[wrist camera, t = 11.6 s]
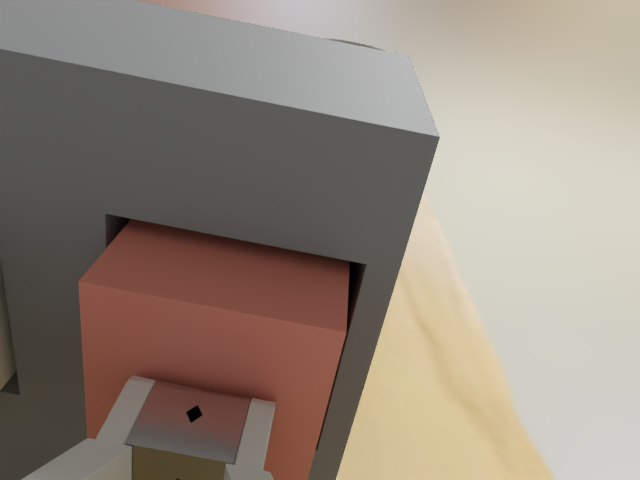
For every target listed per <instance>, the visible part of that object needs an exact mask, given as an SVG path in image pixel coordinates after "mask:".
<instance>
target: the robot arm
mask: <svg viewBox="0 0 640 480" xmlns="http://www.w3.org/2000/svg"><path fill="white" fill-rule="evenodd" d="M275 407H276V403H275V402H271V401H266V400H260V399H255V398H252V399H251V398H250V397H245V396H239V395H233V394H228V393H222V392H216V391H211V390H202V389H197V388H193V387H188V386H183V385H179V384H174V383H169V382H165V381H160V380H153V379H149V378H144V377H139V376H134V375H133V376H132V377H131V378H130V379H129V380H128V381H127V382H126V384H125V386H124V388H123V389H122V391H121V393H120V395H119V397H118V399H117V400H116V402H115V404H114V406H113V408H112V409H111V411H110V413H109V415H108V417H107V419H106V420H105V422H104V424H103V426H102V428H101V429H100V431H99V433H98V435H97V437H96V439H91V438H87V439H85V440H84V441H82V442H80V443H79V444H77V445H76V446H74V447H72V448H71V449H69V450H68V451H66V452H64V453H63V454H61V455H60V456H58V457H56V458H55V459H53V460H52V461H50V462H48V463H47V464H45V465H44V466H42V467H40V468H39V469H37V470H36V471H34V472H32V473H31V474H29V475H28V476H26V477H24V478H23V479H21V480H274V479H273V477H272V475H271V472H268V471H264V470H263V468H264V463H265V458H266V453H267V448H268V443H269V438H270V433H271V427H272V422H273V417H274V412H275Z"/></svg>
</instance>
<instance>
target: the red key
mask: <svg viewBox="0 0 640 480" xmlns="http://www.w3.org/2000/svg"><path fill="white" fill-rule="evenodd" d="M349 269H350V261H347V260H342V259H336V258H331V257H326V256H321V255H316V254H311V253H305V252H300V251H295V250H290V249H285V248H280V247H275V246H269V245H264V244H259V243H254V242H249V241H244V240H238V239H233V238H228V237H223V236H218V235H213V234H208V233H202V232H197V231H192V230H187V229H182V228H177V227H171V226H166V225H161V224H156V223H151V222H146V221H141V220H135V219H131V220H130V221H129V222H128V223H127V225H126V226H125V227H124V228H123V229H122V230H121V232H120V233H119V234H118V235H117V236H116V238H115V239H114V240H113V241H112V242H111V244H110V245H109V246H108V247H107V248H106V249H105V251H104V252H103V253H102V254H101V255H100V257H99V258H98V259H97V260H96V261H95V262H94V264H93V265H92V266H91V267H90V268H89V270H88V271H87V272H86V273H85V274H84V275H83V277H82V278H81V279H80V280H79V281H78V283H79V301H80V318H81V336H82V354H83V371H84V389H85V407H86V424H87V438H91V439H96V437H97V435H98V433H99V431H100V429H101V428H102V426H103V424H104V422H105V420H106V419H107V417H108V415H109V413H110V411H111V409H112V408H113V406H114V404H115V402H116V400H117V399H118V397H119V395H120V393H121V391H122V389H123V388H124V386H125V384H126V382H127V381H128V380H129V379H130V378H131V377H132V376H133V375H134V376H139V377H144V378H149V379H153V380H160V381H165V382H169V383H174V384H179V385H183V386H188V387H193V388H197V389H202V390H211V391H216V392H222V393H228V394H233V395H239V396H245V397H250V398H251V399H252V398H255V399H260V400H266V401H271V402H275V403H276V407H275V412H274V417H273V422H272V427H271V433H270V438H269V443H268V448H267V453H266V458H265V463H264V468H263V470H264V471H268V472H271V475H272V477H273V479H274V480H308V476H309V473H310V469H311V465H312V461H313V457H314V454H315V450H316V446H317V442H318V438H319V435H320V431H321V427H322V423H323V419H324V416H325V412H326V408H327V404H328V400H329V397H330V393H331V389H332V385H333V381H334V378H335V374H336V370H337V366H338V362H339V359H340V355H341V351H342V347H343V343H344V340H345V336H346V330H347V309H348V289H349Z"/></svg>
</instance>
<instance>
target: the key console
mask: <svg viewBox="0 0 640 480" xmlns="http://www.w3.org/2000/svg"><path fill="white" fill-rule="evenodd" d="M439 138H440V136H439V133H438V131H437V128H436V126H435V123H434V120H433V118H432V115H431V112H430V110H429V107H428V104H427V102H426V99H425V97H424V94H423V91H422V89H421V86H420V83H419V81H418V78H417V76H416V73H415V70H414V68H413V65H412V62H411V60H410V57H409V56H407V55H402V54H397V53H392V52H388V51H383V50H378V49H373V48H368V47H363V46H358V45H353V44H348V43H343V42H338V41H333V40H329V39H324V38H319V37H314V36H309V35H304V34H299V33H294V32H289V31H284V30H279V29H274V28H270V27H265V26H260V25H255V24H250V23H245V22H240V21H235V20H230V19H225V18H221V17H216V16H210V15H205V14H201V13H196V12H191V11H186V10H181V9H176V8H171V7H166V6H161V5H157V4H151V3H147V2H142V1H137V0H0V257H1V264H2V271H3V278H4V285H5V292H6V299H7V306H8V313H9V320H10V327H11V335H12V342H13V349H14V356H15V363H16V370H17V371H16V372H15V373H14V374H13V376H12V377H11V378H10V379H9V381H8V382H7V383H6V384H5V385H4V387H3V388H2V389H1V390H0V480H21V479H23V478H24V477H26V476H28V475H29V474H31V473H32V472H34V471H36V470H37V469H39V468H40V467H42V466H44V465H45V464H47V463H48V462H50V461H52V460H53V459H55V458H56V457H58V456H60V455H61V454H63V453H64V452H66V451H68V450H69V449H71V448H72V447H74V446H76V445H77V444H79V443H80V442H82V441H84V440H85V439H87V424H86V407H85V389H84V371H83V354H82V336H81V318H80V301H79V283H78V281H79V280H80V279H81V278H82V277H83V275H84V274H85V273H86V272H87V271H88V270H89V268H90V267H91V266H92V265H93V264H94V262H95V261H96V260H97V259H98V258H99V257H100V255H101V254H102V253H103V252H104V251H105V249H106V248H107V247H108V246H109V245H110V244H111V242H112V241H113V240H114V239H115V238H116V236H117V235H118V234H119V233H120V232H121V230H122V229H123V228H124V227H125V226H126V225H127V223H128V222H129V221H130V220H131V219H135V220H141V221H146V222H151V223H156V224H161V225H166V226H171V227H177V228H182V229H187V230H192V231H197V232H202V233H208V234H213V235H218V236H223V237H228V238H233V239H238V240H244V241H249V242H254V243H259V244H264V245H269V246H275V247H280V248H285V249H290V250H295V251H300V252H305V253H311V254H316V255H321V256H326V257H331V258H336V259H342V260H347V261H350V269H349V289H348V309H347V330H346V336H345V340H344V343H343V347H342V351H341V355H340V359H339V362H338V366H337V370H336V374H335V378H334V381H333V385H332V389H331V393H330V397H329V400H328V404H327V408H326V412H325V416H324V419H323V423H322V427H321V431H320V435H319V438H318V442H317V446H316V450H315V454H314V457H313V461H312V465H311V469H310V473H309V476H308V480H336V476H337V473H338V470H339V467H340V463H341V460H342V457H343V453H344V450H345V447H346V444H347V440H348V437H349V434H350V430H351V427H352V424H353V421H354V417H355V414H356V411H357V407H358V404H359V401H360V398H361V394H362V391H363V388H364V384H365V381H366V378H367V375H368V371H369V368H370V365H371V361H372V358H373V355H374V352H375V348H376V345H377V342H378V338H379V335H380V332H381V328H382V325H383V322H384V319H385V315H386V312H387V309H388V305H389V302H390V299H391V296H392V292H393V289H394V286H395V282H396V279H397V276H398V273H399V269H400V266H401V263H402V259H403V256H404V253H405V250H406V246H407V243H408V240H409V236H410V233H411V230H412V227H413V223H414V220H415V217H416V213H417V210H418V207H419V204H420V200H421V197H422V194H423V190H424V187H425V184H426V181H427V177H428V174H429V171H430V167H431V164H432V161H433V158H434V154H435V151H436V147H437V144H438V141H439Z"/></svg>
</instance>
